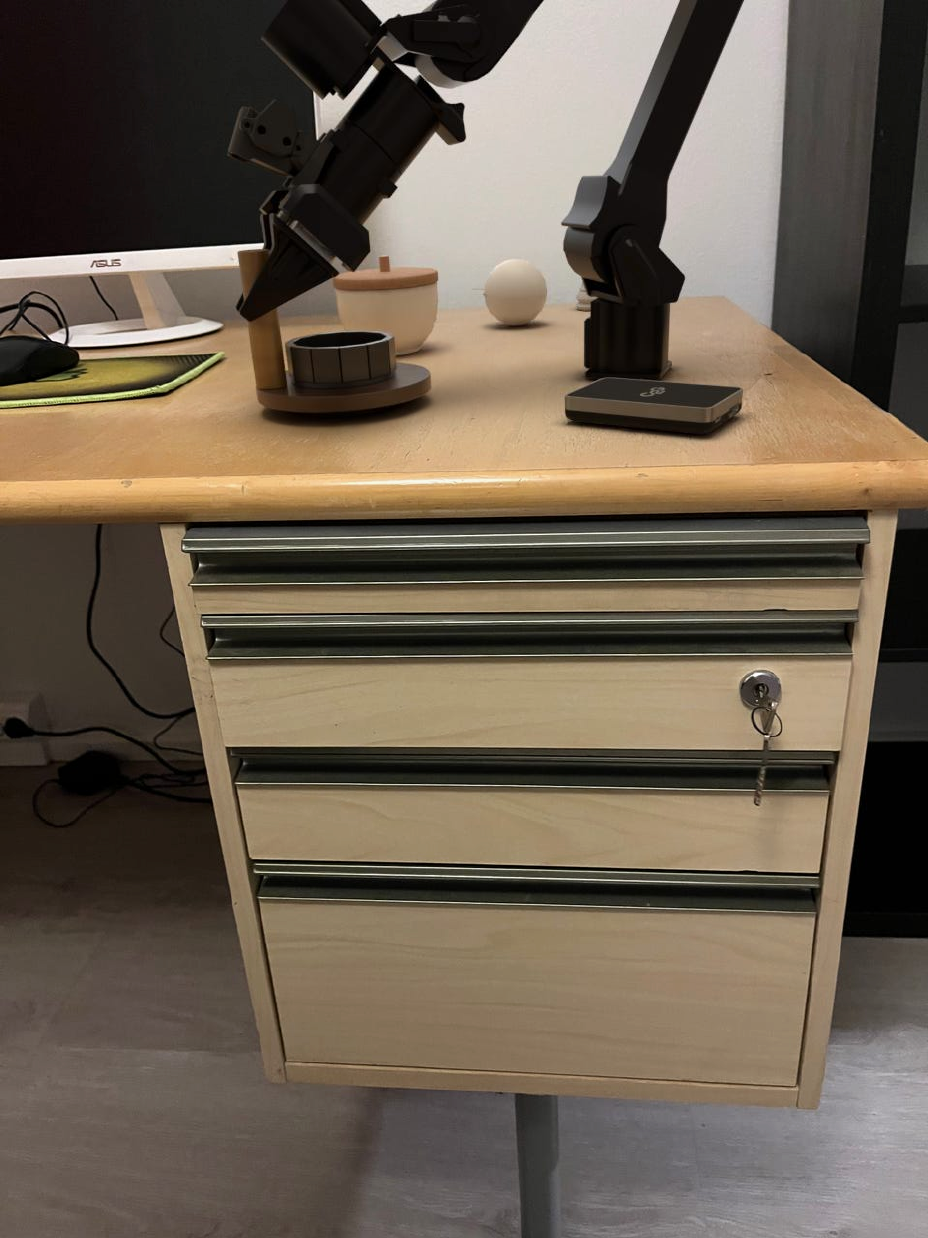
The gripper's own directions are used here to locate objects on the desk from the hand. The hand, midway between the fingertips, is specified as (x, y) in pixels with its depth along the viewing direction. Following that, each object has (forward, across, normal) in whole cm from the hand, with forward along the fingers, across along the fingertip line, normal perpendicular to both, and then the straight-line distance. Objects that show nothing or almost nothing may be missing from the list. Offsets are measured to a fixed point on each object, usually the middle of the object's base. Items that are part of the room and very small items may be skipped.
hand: (242, 315), depth 73 cm
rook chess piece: (-28, -40, +37) cm, 61 cm away
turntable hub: (0, 0, +11) cm, 11 cm away
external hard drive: (-13, +16, +24) cm, 32 cm away
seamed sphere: (-18, -34, +28) cm, 47 cm away
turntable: (-1, 0, +10) cm, 10 cm away
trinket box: (-6, -23, +16) cm, 29 cm away
